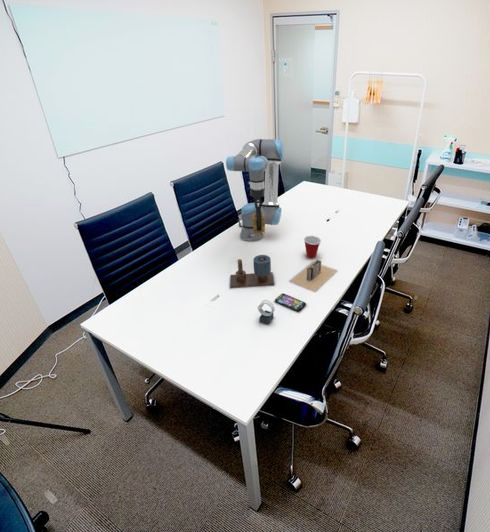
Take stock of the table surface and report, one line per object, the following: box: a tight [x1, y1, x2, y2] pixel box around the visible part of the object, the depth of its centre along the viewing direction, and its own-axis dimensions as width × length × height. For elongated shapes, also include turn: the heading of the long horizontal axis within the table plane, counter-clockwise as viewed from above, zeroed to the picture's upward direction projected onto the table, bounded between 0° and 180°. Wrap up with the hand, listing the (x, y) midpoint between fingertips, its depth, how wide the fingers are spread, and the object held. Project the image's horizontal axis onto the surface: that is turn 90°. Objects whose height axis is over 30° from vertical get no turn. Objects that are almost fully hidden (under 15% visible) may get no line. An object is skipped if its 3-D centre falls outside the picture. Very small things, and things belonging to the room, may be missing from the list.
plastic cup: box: [303, 235, 322, 259], centre depth 208 cm, size 11×11×12 cm
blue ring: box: [252, 254, 272, 276], centre depth 182 cm, size 9×9×8 cm
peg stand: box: [229, 258, 275, 289], centre depth 183 cm, size 24×11×14 cm, turn 97°
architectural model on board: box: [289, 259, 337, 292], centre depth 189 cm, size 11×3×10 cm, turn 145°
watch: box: [257, 299, 276, 325], centre depth 157 cm, size 6×8×11 cm
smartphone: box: [274, 293, 307, 312], centre depth 170 cm, size 8×1×15 cm
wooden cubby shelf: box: [253, 214, 266, 234], centre depth 188 cm, size 6×6×9 cm
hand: (259, 227), depth 189 cm, fingers closed on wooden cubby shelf, 6 cm apart
